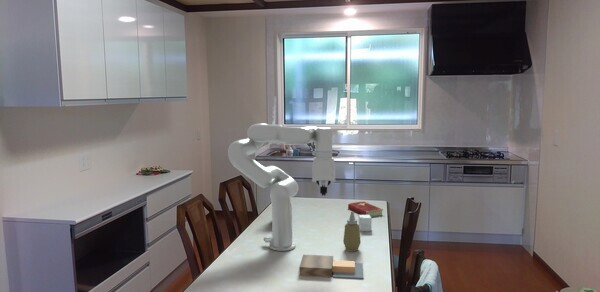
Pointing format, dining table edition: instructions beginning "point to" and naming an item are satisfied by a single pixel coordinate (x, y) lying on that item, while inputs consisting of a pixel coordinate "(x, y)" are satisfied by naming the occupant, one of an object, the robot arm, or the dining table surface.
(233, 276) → the dining table surface
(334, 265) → the tile
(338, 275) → the mat
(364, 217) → the skincare box
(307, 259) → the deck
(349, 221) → the squeeze bottle
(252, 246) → the dining table surface
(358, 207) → the hardcover book
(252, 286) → the dining table surface
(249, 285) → the dining table surface
